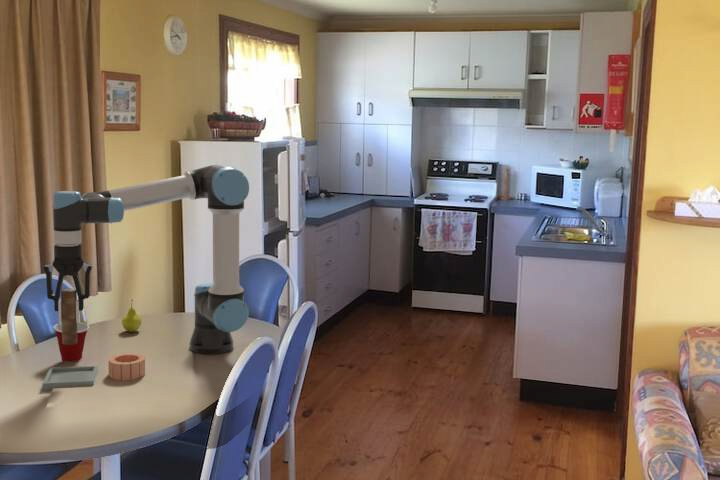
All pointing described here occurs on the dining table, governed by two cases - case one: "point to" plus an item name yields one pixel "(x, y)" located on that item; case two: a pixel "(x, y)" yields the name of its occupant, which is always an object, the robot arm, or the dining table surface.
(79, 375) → the dish
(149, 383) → the dining table surface
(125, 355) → the pink brick ring
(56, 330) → the plastic cup
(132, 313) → the fruit
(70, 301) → the dowel
